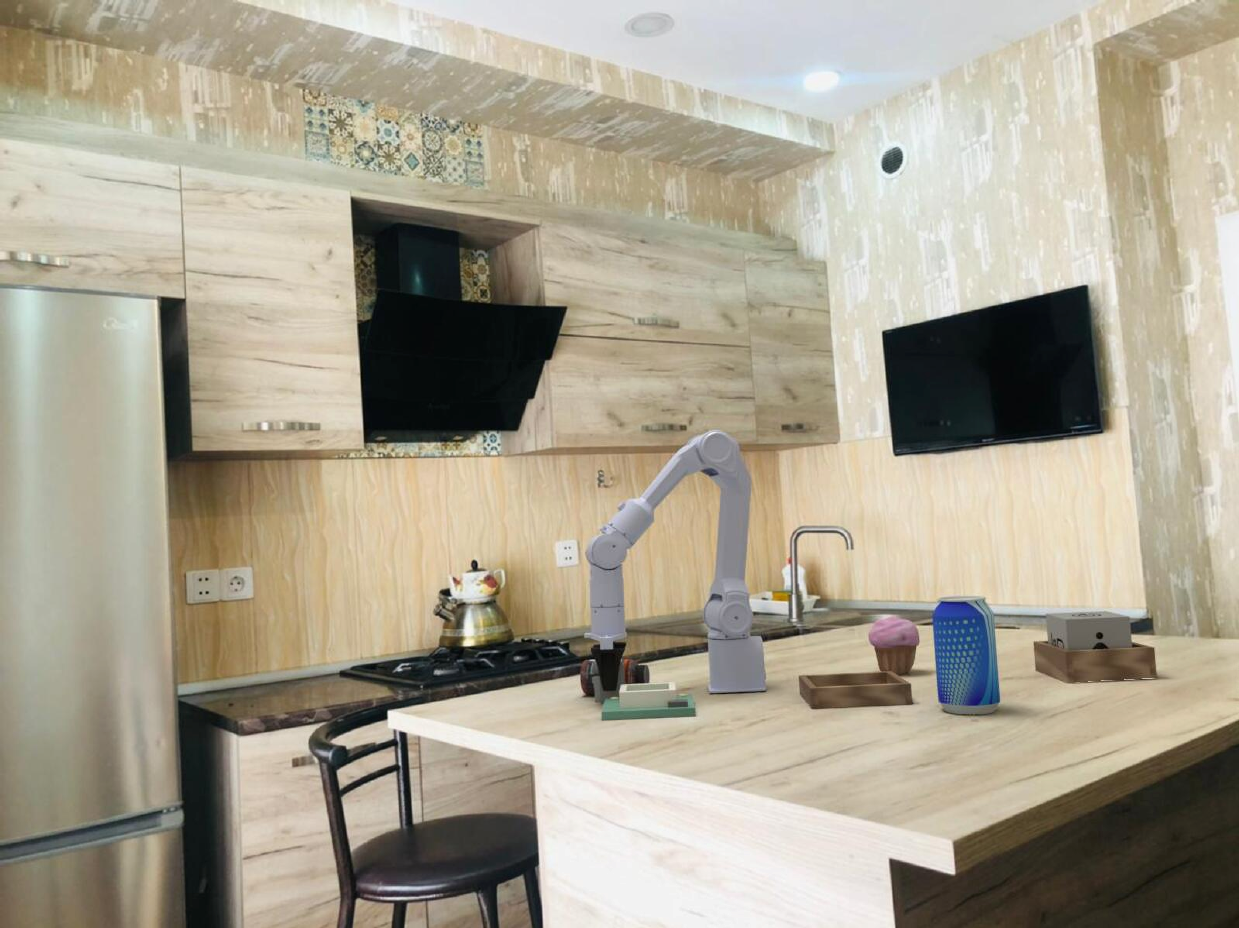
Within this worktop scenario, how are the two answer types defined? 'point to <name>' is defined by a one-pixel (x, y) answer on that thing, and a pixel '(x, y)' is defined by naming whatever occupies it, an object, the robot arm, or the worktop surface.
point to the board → (649, 709)
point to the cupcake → (894, 644)
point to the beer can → (966, 655)
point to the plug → (602, 695)
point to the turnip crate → (855, 689)
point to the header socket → (647, 695)
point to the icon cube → (1088, 630)
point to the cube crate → (1095, 663)
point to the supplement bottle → (631, 669)
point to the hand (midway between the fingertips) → (610, 688)
